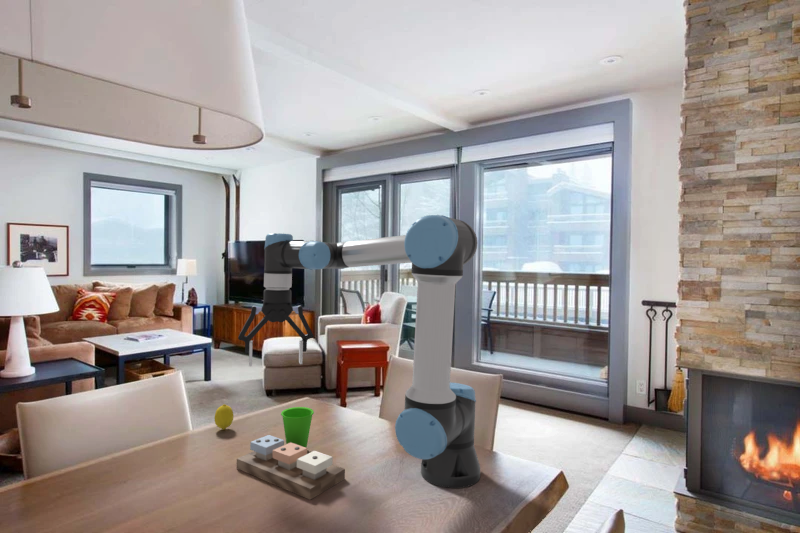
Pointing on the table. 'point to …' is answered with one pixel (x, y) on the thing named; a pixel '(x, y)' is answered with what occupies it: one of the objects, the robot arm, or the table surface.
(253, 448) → the tile three
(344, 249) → the robot arm
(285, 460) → the tile two
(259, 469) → the board
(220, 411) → the lemon
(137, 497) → the table surface
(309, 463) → the tile one
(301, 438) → the cup
